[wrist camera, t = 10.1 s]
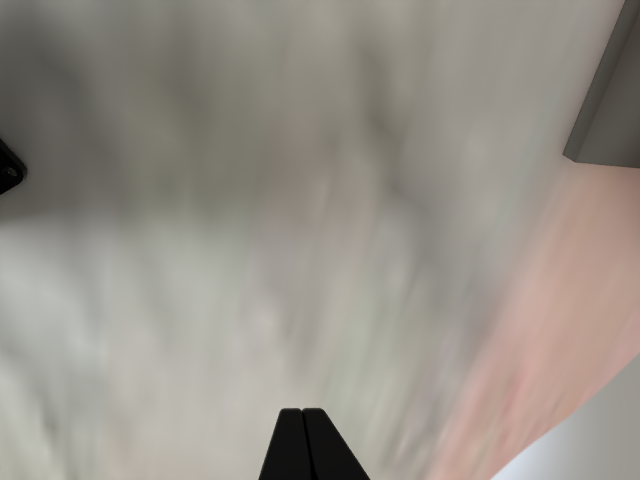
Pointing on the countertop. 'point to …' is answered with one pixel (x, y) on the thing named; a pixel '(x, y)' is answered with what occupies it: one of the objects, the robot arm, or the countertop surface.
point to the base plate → (612, 101)
